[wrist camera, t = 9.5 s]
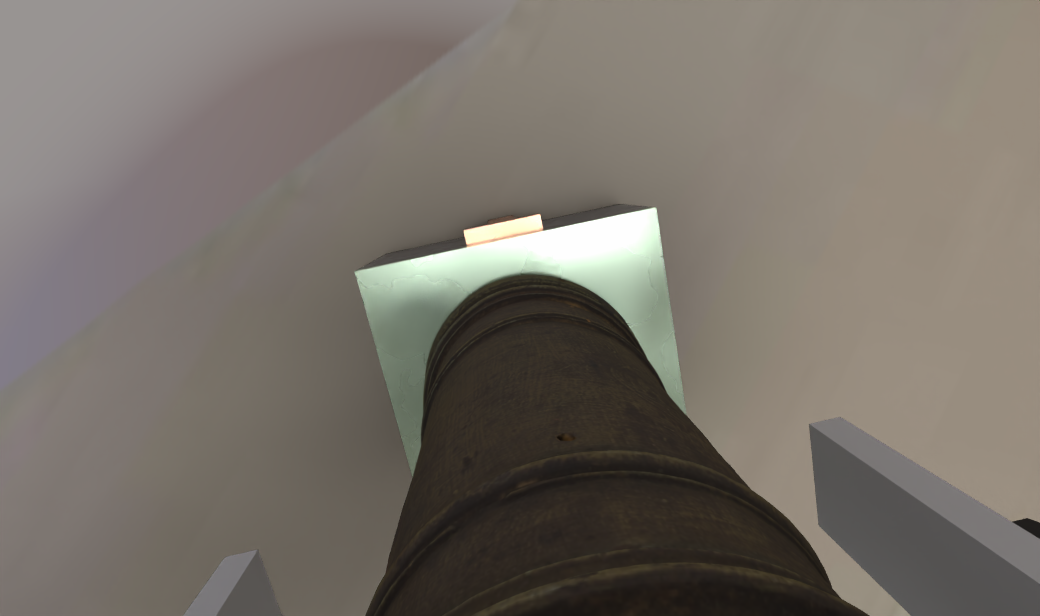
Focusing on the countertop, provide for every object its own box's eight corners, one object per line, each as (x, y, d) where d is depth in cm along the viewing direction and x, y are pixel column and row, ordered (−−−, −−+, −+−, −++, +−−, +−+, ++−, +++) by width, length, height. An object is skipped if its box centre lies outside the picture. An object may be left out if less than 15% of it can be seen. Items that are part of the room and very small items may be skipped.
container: (486, 235, 20) (437, 493, 3) (681, 335, 22) (1479, 941, 4) (389, 428, 22) (-32, 1374, 4) (577, 511, 23) (837, 1506, 6)
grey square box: (442, 467, 29) (428, 536, 23) (382, 242, 26) (350, 256, 20) (655, 421, 29) (695, 478, 23) (618, 192, 26) (653, 192, 20)
